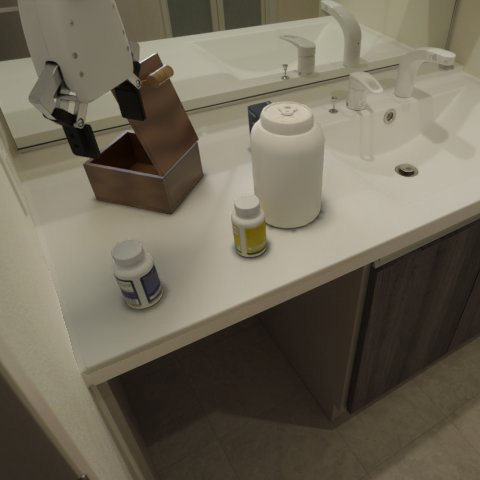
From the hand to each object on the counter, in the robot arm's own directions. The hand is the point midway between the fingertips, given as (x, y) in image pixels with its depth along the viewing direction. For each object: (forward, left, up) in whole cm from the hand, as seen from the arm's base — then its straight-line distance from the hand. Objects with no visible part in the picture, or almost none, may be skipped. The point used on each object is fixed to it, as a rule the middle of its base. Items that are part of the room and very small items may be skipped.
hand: (112, 136), depth 51 cm
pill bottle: (+1, -5, -24) cm, 24 cm away
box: (+6, +39, -24) cm, 46 cm away
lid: (-7, +20, -8) cm, 23 cm away
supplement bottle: (+13, +9, -24) cm, 28 cm away
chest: (-12, +20, -24) cm, 33 cm away
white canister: (+16, +21, -24) cm, 36 cm away
